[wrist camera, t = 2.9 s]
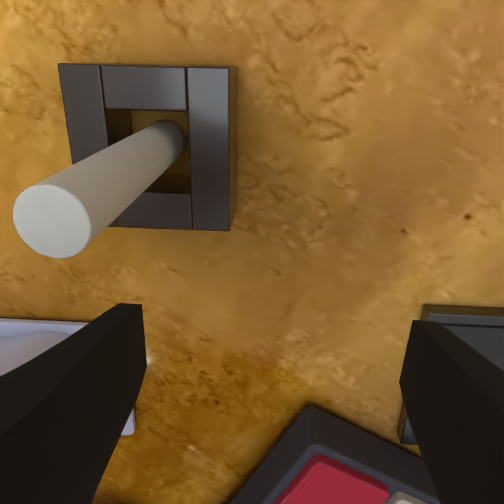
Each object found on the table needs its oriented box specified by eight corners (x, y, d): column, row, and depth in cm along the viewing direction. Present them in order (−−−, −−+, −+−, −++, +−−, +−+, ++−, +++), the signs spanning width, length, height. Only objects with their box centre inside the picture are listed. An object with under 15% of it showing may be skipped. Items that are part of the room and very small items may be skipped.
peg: (149, 159, 20) (19, 258, 10) (145, 118, 19) (3, 181, 9) (187, 161, 20) (96, 261, 10) (186, 119, 19) (85, 184, 9)
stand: (106, 204, 21) (81, 226, 18) (89, 62, 19) (56, 63, 16) (236, 209, 21) (229, 232, 18) (237, 66, 18) (229, 66, 16)
